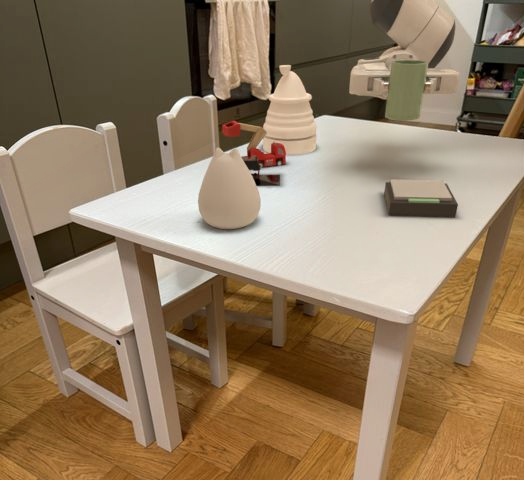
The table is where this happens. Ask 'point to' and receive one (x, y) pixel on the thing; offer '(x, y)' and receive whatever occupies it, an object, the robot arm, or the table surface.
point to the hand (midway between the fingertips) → (406, 88)
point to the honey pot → (290, 116)
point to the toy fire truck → (265, 160)
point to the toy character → (228, 192)
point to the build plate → (259, 179)
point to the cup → (406, 89)
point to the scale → (419, 198)
